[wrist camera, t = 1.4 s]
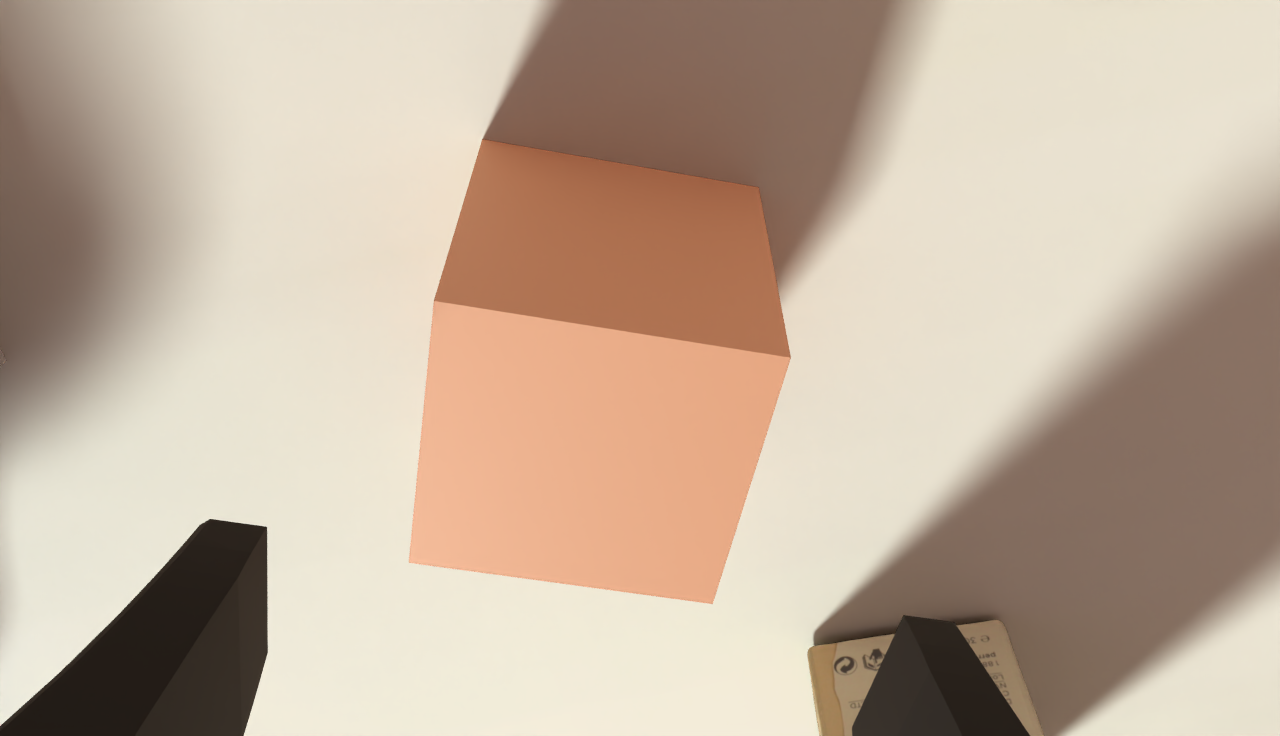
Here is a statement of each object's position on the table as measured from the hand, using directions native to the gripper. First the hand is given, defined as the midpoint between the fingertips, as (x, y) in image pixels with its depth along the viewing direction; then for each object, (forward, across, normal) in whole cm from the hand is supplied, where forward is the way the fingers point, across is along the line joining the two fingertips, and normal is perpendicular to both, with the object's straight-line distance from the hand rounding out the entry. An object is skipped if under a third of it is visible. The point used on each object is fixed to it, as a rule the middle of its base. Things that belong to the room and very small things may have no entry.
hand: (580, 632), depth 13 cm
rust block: (+8, 0, 0) cm, 8 cm away
